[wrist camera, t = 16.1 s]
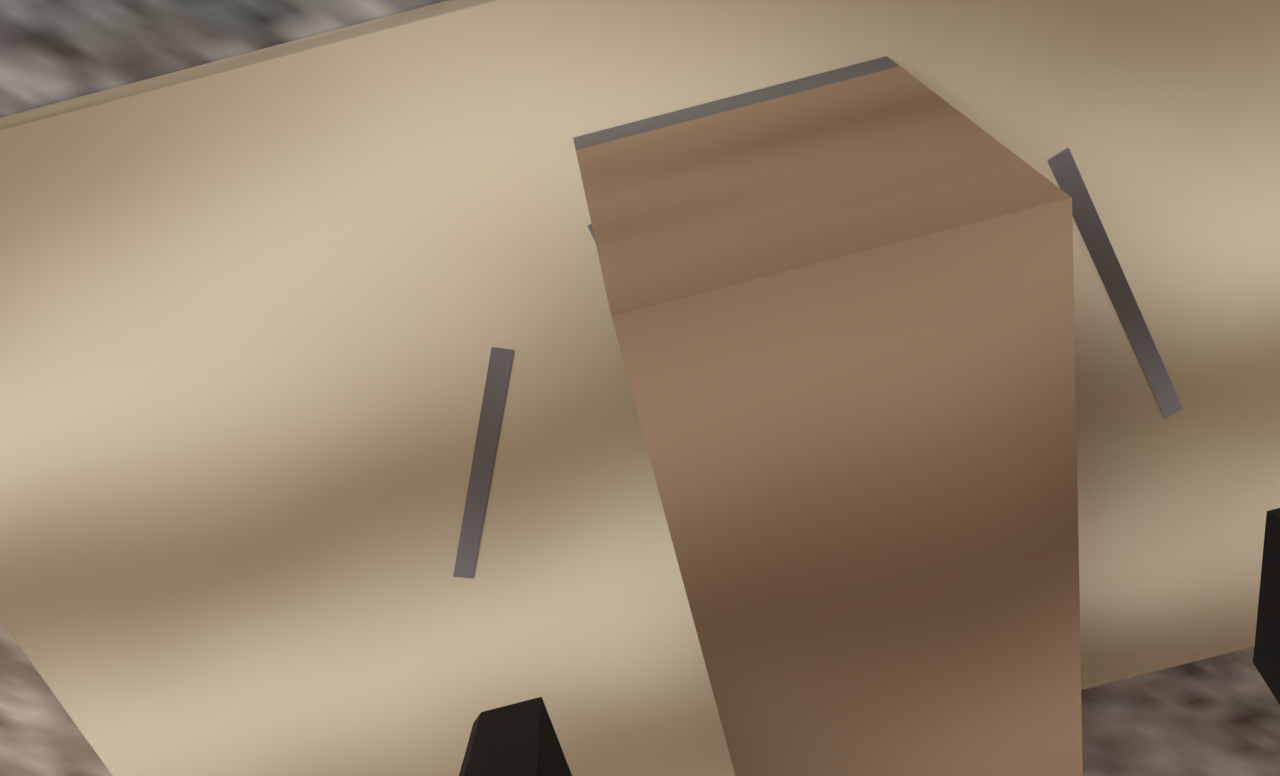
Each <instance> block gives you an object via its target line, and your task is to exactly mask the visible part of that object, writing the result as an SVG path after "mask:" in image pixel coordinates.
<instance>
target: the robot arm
mask: <svg viewBox="0 0 1280 776" xmlns="http://www.w3.org/2000/svg"><path fill="white" fill-rule="evenodd" d="M1253 663H1254V665H1255V666H1256V668H1257V669H1258V671H1259V673H1260V674H1261V676H1262V677H1263V679H1264V681H1265V682H1266V684H1267V685H1268V687H1269V688H1270V690H1271V692H1272V693H1273V695H1274V696H1275V698H1276V700H1277V701H1278V703H1279V704H1280V508H1277V509H1273V510H1269V511H1267V513H1266V524H1265V536H1264V547H1263V558H1262V569H1261V580H1260V591H1259V602H1258V613H1257V624H1256V635H1255V646H1254V657H1253ZM459 776H572V774H571V771H570V769H569V766H568V764H567V761H566V758H565V756H564V753H563V751H562V748H561V746H560V743H559V740H558V738H557V735H556V733H555V730H554V727H553V725H552V722H551V720H550V717H549V714H548V712H547V709H546V707H545V704H544V701H543V699H542V697H538V698H535V699H531V700H527V701H523V702H519V703H515V704H511V705H507V706H503V707H499V708H495V709H492V710H488V711H484V712H481V713H480V714H479V716H478V717H477V719H476V720H475V721H474V723H473V726H472V730H471V734H470V738H469V741H468V745H467V749H466V752H465V756H464V759H463V763H462V766H461V770H460V773H459Z"/></svg>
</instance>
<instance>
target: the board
mask: <svg viewBox="0 0 1280 776" xmlns="http://www.w3.org/2000/svg"><path fill="white" fill-rule="evenodd" d="M885 56H887V57H889V58H890V59H891V60H893V61H894V62H895V63H896V64H898V65H899V66H900V67H902V68H903V69H904V70H906V71H907V72H908V73H910V74H911V75H912V76H913V77H915V78H916V79H917V80H919V81H920V82H921V83H923V84H924V85H925V86H927V87H928V88H929V89H930V90H932V91H933V92H934V93H936V94H937V95H938V96H940V97H941V98H942V99H944V100H945V101H946V102H947V103H949V104H950V105H951V106H953V107H954V108H955V109H957V110H958V111H959V112H961V113H962V114H963V115H964V116H966V117H967V118H968V119H970V120H971V121H972V122H974V123H975V124H976V125H978V126H979V127H980V128H981V129H983V130H984V131H985V132H987V133H988V134H989V135H991V136H992V137H993V138H995V139H996V140H997V141H998V142H1000V143H1001V144H1002V145H1004V146H1005V147H1006V148H1008V149H1009V150H1010V151H1012V152H1013V153H1014V154H1015V155H1017V156H1018V157H1019V158H1021V159H1022V160H1023V161H1025V162H1026V163H1027V164H1029V165H1030V166H1031V167H1032V168H1034V169H1035V170H1036V171H1038V172H1039V173H1040V174H1042V175H1043V176H1044V177H1046V178H1047V179H1048V180H1049V181H1051V182H1052V183H1053V184H1055V185H1056V186H1057V187H1059V188H1060V189H1061V190H1063V191H1064V192H1065V193H1066V194H1068V195H1069V196H1070V197H1072V223H1073V276H1074V329H1075V382H1076V435H1077V488H1078V540H1079V593H1080V646H1081V690H1084V689H1088V688H1092V687H1096V686H1100V685H1104V684H1108V683H1112V682H1116V681H1120V680H1124V679H1128V678H1132V677H1136V676H1140V675H1144V674H1148V673H1152V672H1155V671H1159V670H1163V669H1167V668H1171V667H1175V666H1179V665H1183V664H1187V663H1191V662H1195V661H1199V660H1203V659H1207V658H1211V657H1215V656H1219V655H1223V654H1227V653H1231V652H1235V651H1239V650H1243V649H1247V648H1251V647H1254V646H1255V635H1256V624H1257V613H1258V602H1259V591H1260V580H1261V569H1262V558H1263V547H1264V536H1265V524H1266V513H1267V511H1269V510H1273V509H1277V508H1280V0H447V1H444V2H440V3H436V4H432V5H428V6H424V7H421V8H417V9H413V10H409V11H405V12H402V13H398V14H394V15H390V16H386V17H382V18H379V19H375V20H371V21H367V22H363V23H360V24H356V25H352V26H348V27H344V28H340V29H337V30H333V31H329V32H325V33H321V34H318V35H314V36H310V37H306V38H302V39H299V40H295V41H291V42H287V43H283V44H279V45H276V46H272V47H268V48H264V49H260V50H257V51H253V52H249V53H245V54H241V55H237V56H234V57H230V58H226V59H222V60H218V61H215V62H211V63H207V64H203V65H199V66H195V67H192V68H188V69H184V70H180V71H176V72H173V73H169V74H165V75H161V76H157V77H153V78H150V79H146V80H142V81H138V82H134V83H131V84H127V85H123V86H119V87H115V88H111V89H108V90H104V91H100V92H96V93H92V94H89V95H85V96H81V97H77V98H73V99H70V100H66V101H62V102H58V103H54V104H50V105H47V106H43V107H39V108H35V109H31V110H28V111H24V112H20V113H16V114H12V115H8V116H5V117H1V118H0V620H1V621H2V622H3V624H4V625H5V626H6V628H7V629H8V631H9V632H10V633H11V635H12V636H13V638H14V639H15V640H16V642H17V643H18V645H19V646H20V647H21V649H22V650H23V652H24V653H25V654H26V656H27V657H28V658H29V660H30V661H31V663H32V664H33V665H34V667H35V668H36V670H37V671H38V672H39V674H40V675H41V677H42V678H43V679H44V681H45V682H46V683H47V685H48V686H49V688H50V689H51V690H52V692H53V693H54V695H55V696H56V697H57V699H58V700H59V702H60V703H61V704H62V706H63V707H64V709H65V710H66V711H67V713H68V714H69V715H70V717H71V718H72V720H73V721H74V722H75V724H76V725H77V727H78V728H79V729H80V731H81V732H82V734H83V735H84V736H85V738H86V739H87V740H88V742H89V743H90V745H91V746H92V747H93V749H94V750H95V752H96V753H97V754H98V756H99V757H100V759H101V760H102V761H103V763H104V764H105V766H106V767H107V768H108V770H109V771H110V772H111V774H112V775H113V776H459V773H460V770H461V766H462V763H463V759H464V756H465V752H466V749H467V745H468V741H469V738H470V734H471V730H472V726H473V723H474V721H475V720H476V719H477V717H478V716H479V714H480V713H481V712H484V711H488V710H492V709H495V708H499V707H503V706H507V705H511V704H515V703H519V702H523V701H527V700H531V699H535V698H538V697H542V699H543V701H544V704H545V707H546V709H547V712H548V714H549V717H550V720H551V722H552V725H553V727H554V730H555V733H556V735H557V738H558V740H559V743H560V746H561V748H562V751H563V753H564V756H565V758H566V761H567V764H568V766H569V769H570V771H571V774H572V776H735V772H734V769H733V765H732V761H731V758H730V754H729V750H728V746H727V743H726V739H725V735H724V732H723V728H722V724H721V721H720V717H719V713H718V709H717V706H716V702H715V698H714V695H713V691H712V687H711V683H710V680H709V676H708V672H707V669H706V665H705V661H704V658H703V654H702V650H701V646H700V643H699V639H698V635H697V632H696V628H695V624H694V620H693V617H692V613H691V609H690V606H689V602H688V598H687V595H686V591H685V587H684V583H683V580H682V576H681V572H680V569H679V565H678V561H677V557H676V554H675V550H674V546H673V543H672V539H671V535H670V531H669V528H668V524H667V520H666V517H665V513H664V509H663V506H662V502H661V498H660V494H659V491H658V487H657V483H656V480H655V476H654V472H653V468H652V465H651V461H650V457H649V454H648V450H647V446H646V443H645V439H644V435H643V431H642V428H641V424H640V420H639V417H638V413H637V409H636V405H635V402H634V398H633V394H632V391H631V387H630V383H629V380H628V376H627V372H626V368H625V365H624V361H623V357H622V354H621V350H620V346H619V342H618V339H617V335H616V331H615V328H614V324H613V320H612V317H611V312H610V307H609V303H608V298H607V293H606V289H605V284H604V279H603V275H602V270H601V265H600V261H599V256H598V252H597V247H596V242H595V238H594V233H593V228H592V224H591V219H590V214H589V210H588V205H587V200H586V196H585V191H584V187H583V182H582V177H581V173H580V168H579V163H578V159H577V154H576V149H575V145H574V140H573V138H574V137H578V136H582V135H586V134H589V133H593V132H597V131H601V130H605V129H609V128H612V127H616V126H620V125H624V124H628V123H632V122H635V121H639V120H643V119H647V118H651V117H655V116H659V115H662V114H666V113H670V112H674V111H678V110H682V109H685V108H689V107H693V106H697V105H701V104H705V103H709V102H712V101H716V100H720V99H724V98H728V97H732V96H735V95H739V94H743V93H747V92H751V91H755V90H759V89H762V88H766V87H770V86H774V85H778V84H782V83H785V82H789V81H793V80H797V79H801V78H805V77H809V76H812V75H816V74H820V73H824V72H828V71H832V70H835V69H839V68H843V67H847V66H851V65H855V64H859V63H862V62H866V61H870V60H874V59H878V58H882V57H885Z"/></svg>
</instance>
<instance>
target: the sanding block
mask: <svg viewBox="0 0 1280 776" xmlns="http://www.w3.org/2000/svg"><path fill="white" fill-rule="evenodd" d="M573 140H574V145H575V149H576V154H577V159H578V163H579V168H580V173H581V177H582V182H583V187H584V191H585V196H586V200H587V205H588V210H589V214H590V219H591V224H592V228H593V233H594V238H595V242H596V247H597V252H598V256H599V261H600V265H601V270H602V275H603V279H604V284H605V289H606V293H607V298H608V303H609V307H610V312H611V317H612V320H613V324H614V328H615V331H616V335H617V339H618V342H619V346H620V350H621V354H622V357H623V361H624V365H625V368H626V372H627V376H628V380H629V383H630V387H631V391H632V394H633V398H634V402H635V405H636V409H637V413H638V417H639V420H640V424H641V428H642V431H643V435H644V439H645V443H646V446H647V450H648V454H649V457H650V461H651V465H652V468H653V472H654V476H655V480H656V483H657V487H658V491H659V494H660V498H661V502H662V506H663V509H664V513H665V517H666V520H667V524H668V528H669V531H670V535H671V539H672V543H673V546H674V550H675V554H676V557H677V561H678V565H679V569H680V572H681V576H682V580H683V583H684V587H685V591H686V595H687V598H688V602H689V606H690V609H691V613H692V617H693V620H694V624H695V628H696V632H697V635H698V639H699V643H700V646H701V650H702V654H703V658H704V661H705V665H706V669H707V672H708V676H709V680H710V683H711V687H712V691H713V695H714V698H715V702H716V706H717V709H718V713H719V717H720V721H721V724H722V728H723V732H724V735H725V739H726V743H727V746H728V750H729V754H730V758H731V761H732V765H733V769H734V772H735V776H1083V752H1082V699H1081V646H1080V593H1079V540H1078V488H1077V435H1076V382H1075V329H1074V276H1073V223H1072V197H1070V196H1069V195H1068V194H1066V193H1065V192H1064V191H1063V190H1061V189H1060V188H1059V187H1057V186H1056V185H1055V184H1053V183H1052V182H1051V181H1049V180H1048V179H1047V178H1046V177H1044V176H1043V175H1042V174H1040V173H1039V172H1038V171H1036V170H1035V169H1034V168H1032V167H1031V166H1030V165H1029V164H1027V163H1026V162H1025V161H1023V160H1022V159H1021V158H1019V157H1018V156H1017V155H1015V154H1014V153H1013V152H1012V151H1010V150H1009V149H1008V148H1006V147H1005V146H1004V145H1002V144H1001V143H1000V142H998V141H997V140H996V139H995V138H993V137H992V136H991V135H989V134H988V133H987V132H985V131H984V130H983V129H981V128H980V127H979V126H978V125H976V124H975V123H974V122H972V121H971V120H970V119H968V118H967V117H966V116H964V115H963V114H962V113H961V112H959V111H958V110H957V109H955V108H954V107H953V106H951V105H950V104H949V103H947V102H946V101H945V100H944V99H942V98H941V97H940V96H938V95H937V94H936V93H934V92H933V91H932V90H930V89H929V88H928V87H927V86H925V85H924V84H923V83H921V82H920V81H919V80H917V79H916V78H915V77H913V76H912V75H911V74H910V73H908V72H907V71H906V70H904V69H903V68H902V67H900V66H899V65H898V64H896V63H895V62H894V61H893V60H891V59H890V58H889V57H887V56H885V57H882V58H878V59H874V60H870V61H866V62H862V63H859V64H855V65H851V66H847V67H843V68H839V69H835V70H832V71H828V72H824V73H820V74H816V75H812V76H809V77H805V78H801V79H797V80H793V81H789V82H785V83H782V84H778V85H774V86H770V87H766V88H762V89H759V90H755V91H751V92H747V93H743V94H739V95H735V96H732V97H728V98H724V99H720V100H716V101H712V102H709V103H705V104H701V105H697V106H693V107H689V108H685V109H682V110H678V111H674V112H670V113H666V114H662V115H659V116H655V117H651V118H647V119H643V120H639V121H635V122H632V123H628V124H624V125H620V126H616V127H612V128H609V129H605V130H601V131H597V132H593V133H589V134H586V135H582V136H578V137H574V138H573Z"/></svg>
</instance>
